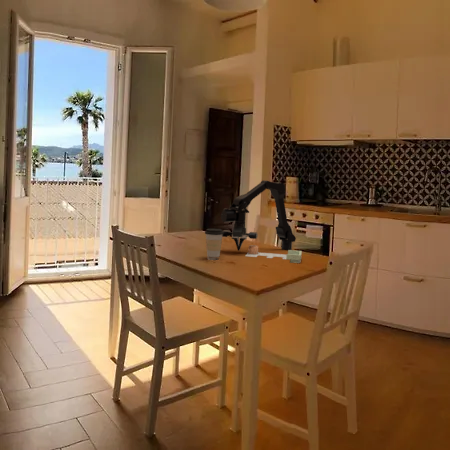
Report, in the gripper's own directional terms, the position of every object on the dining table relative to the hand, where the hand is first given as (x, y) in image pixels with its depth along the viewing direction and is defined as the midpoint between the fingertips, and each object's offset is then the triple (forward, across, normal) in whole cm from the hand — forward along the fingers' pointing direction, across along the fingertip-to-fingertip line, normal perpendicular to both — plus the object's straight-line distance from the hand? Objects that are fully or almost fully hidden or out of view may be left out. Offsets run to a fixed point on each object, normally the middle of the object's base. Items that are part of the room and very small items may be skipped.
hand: (238, 250), depth 246 cm
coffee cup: (+3, -10, -16) cm, 19 cm away
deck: (+2, +19, -2) cm, 19 cm away
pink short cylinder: (+1, +8, 0) cm, 8 cm away
